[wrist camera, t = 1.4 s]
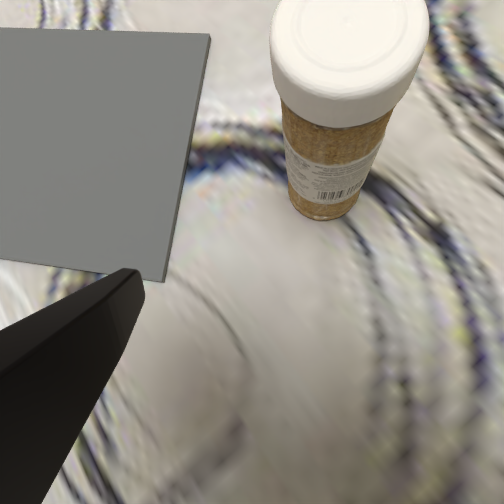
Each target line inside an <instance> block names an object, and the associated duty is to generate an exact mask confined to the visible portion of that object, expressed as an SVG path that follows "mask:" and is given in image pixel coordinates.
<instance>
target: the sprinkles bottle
mask: <svg viewBox="0 0 504 504" xmlns="http://www.w3.org/2000/svg"><path fill="white" fill-rule="evenodd" d="M428 36H429V16H428V11H427V7H426V4H425V1H424V0H281V1H280V2H279V4H278V6H277V8H276V10H275V12H274V15H273V18H272V21H271V26H270V36H269V42H270V57H271V65H272V74H273V80H274V84H275V87H276V90H277V92H278V94H279V95H280V99H281V107H282V129H283V137H284V146H285V156H286V166H287V174H288V178H289V181H288V189H289V190H288V193H289V197H290V200H291V202H292V203H293V205H294V207H295V208H296V209H297V210H298V211H299V212H300V213H302V214H303V215H305V216H307V217H309V218H312V219H315V220H330V219H335V218H338V217H340V216H342V215H343V214H345V213H346V212H348V211H349V210H350V209H351V207H352V206H353V205H354V204H355V203H356V201H357V198H358V196H359V192H360V188H361V186H362V185H363V183H364V181H365V179H366V177H367V174H368V172H369V170H370V168H371V166H372V163H373V161H374V159H375V157H376V154H377V152H378V150H379V148H380V145H381V143H382V141H383V138H384V136H385V130H386V126H387V123H388V121H389V119H390V116H391V114H392V112H393V109H394V107H395V106H396V104H397V103H398V102H399V101H400V100H401V98H402V97H403V96H404V94H405V93H406V91H407V90H408V88H409V86H410V84H411V82H412V79H413V77H414V75H415V72H416V70H417V68H418V65H419V63H420V60H421V58H422V56H423V53H424V50H425V47H426V44H427V41H428Z"/></svg>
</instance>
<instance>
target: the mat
mask: <svg viewBox="0 0 504 504" xmlns="http://www.w3.org/2000/svg"><path fill="white" fill-rule="evenodd" d="M210 41H211V38H210V35H209V34H203V33H169V32H136V31H102V30H68V29H35V28H1V27H0V258H1V259H7V260H14V261H21V262H28V263H35V264H41V265H48V266H55V267H62V268H69V269H76V270H82V271H89V272H96V273H103V274H112V273H114V272H116V271H118V270H120V269H122V268H131V269H137V270H139V271H140V273H141V276H142V279H144V280H151V281H157V282H164V281H165V276H166V271H167V266H168V260H169V255H170V250H171V245H172V239H173V234H174V229H175V224H176V219H177V213H178V208H179V203H180V198H181V192H182V187H183V182H184V177H185V172H186V166H187V161H188V156H189V151H190V146H191V140H192V135H193V130H194V125H195V119H196V114H197V109H198V104H199V99H200V93H201V88H202V83H203V78H204V72H205V67H206V62H207V57H208V52H209V46H210Z"/></svg>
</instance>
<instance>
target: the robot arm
mask: <svg viewBox="0 0 504 504" xmlns="http://www.w3.org/2000/svg"><path fill="white" fill-rule="evenodd" d="M144 301H145V291H144V286H143V281H142V276H141V273H140V271H139V270H137V269H131V268H122V269H120V270H118V271H116V272H114V273H112V274H110V275H108V276H106V277H104V278H102V279H100V280H98V281H96V282H94V283H92V284H90V285H88V286H86V287H84V288H82V289H80V290H78V291H77V292H75V293H73V294H71V295H69V296H67V297H65V298H63V299H61V300H59V301H57V302H55V303H53V304H51V305H49V306H47V307H45V308H43V309H41V310H39V311H37V312H35V313H34V314H32V315H30V316H28V317H26V318H24V319H22V320H20V321H18V322H16V323H14V324H12V325H10V326H8V327H6V328H4V329H2V330H0V504H41V503H42V502H43V500H44V498H45V496H46V494H47V492H48V491H49V489H50V487H51V485H52V483H53V481H54V479H55V478H56V476H57V474H58V472H59V470H60V468H61V467H62V465H63V463H64V461H65V459H66V457H67V456H68V454H69V452H70V450H71V448H72V446H73V445H74V443H75V441H76V439H77V437H78V435H79V434H80V432H81V430H82V428H83V426H84V424H85V423H86V421H87V419H88V417H89V415H90V413H91V412H92V410H93V408H94V406H95V404H96V402H97V400H98V399H99V397H100V395H101V393H102V391H103V389H104V388H105V386H106V384H107V382H108V380H109V378H110V377H111V375H112V373H113V371H114V369H115V367H116V366H117V364H118V362H119V360H120V358H121V356H122V354H123V352H124V350H125V348H126V345H127V343H128V340H129V338H130V336H131V333H132V331H133V328H134V326H135V323H136V321H137V318H138V316H139V314H140V311H141V309H142V306H143V304H144Z"/></svg>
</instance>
